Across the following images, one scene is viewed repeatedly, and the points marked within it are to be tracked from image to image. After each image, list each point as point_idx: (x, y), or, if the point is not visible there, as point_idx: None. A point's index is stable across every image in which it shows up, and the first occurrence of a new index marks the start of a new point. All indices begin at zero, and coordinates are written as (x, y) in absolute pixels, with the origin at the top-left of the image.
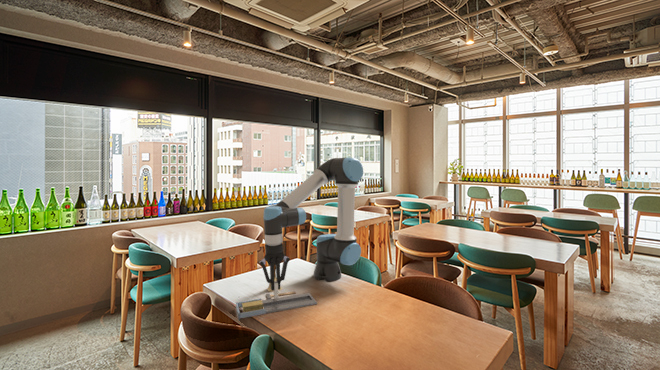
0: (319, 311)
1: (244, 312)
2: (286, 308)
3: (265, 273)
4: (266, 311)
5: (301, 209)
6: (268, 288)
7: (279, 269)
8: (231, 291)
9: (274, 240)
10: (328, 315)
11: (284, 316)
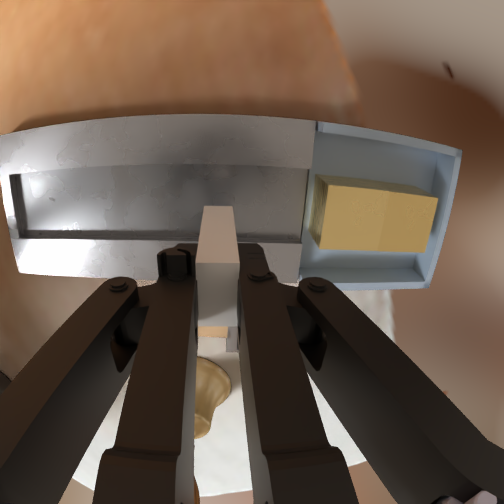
0: (17, 72)
1: (437, 150)
2: (172, 114)
3: (403, 362)
4: (313, 121)
5: None
6: (219, 395)
7: (132, 403)
8: None
9: None
10: (4, 26)
11: (205, 64)
